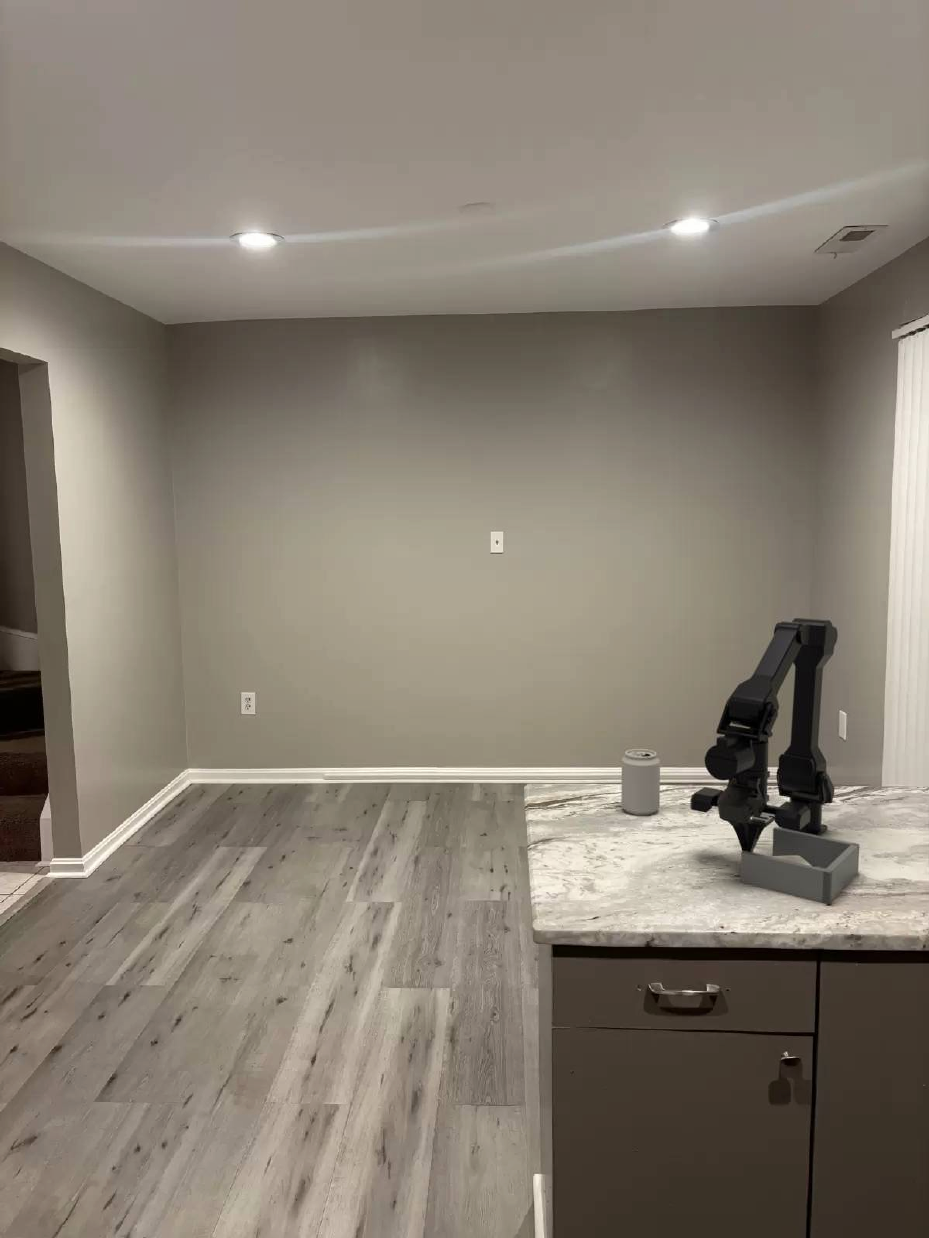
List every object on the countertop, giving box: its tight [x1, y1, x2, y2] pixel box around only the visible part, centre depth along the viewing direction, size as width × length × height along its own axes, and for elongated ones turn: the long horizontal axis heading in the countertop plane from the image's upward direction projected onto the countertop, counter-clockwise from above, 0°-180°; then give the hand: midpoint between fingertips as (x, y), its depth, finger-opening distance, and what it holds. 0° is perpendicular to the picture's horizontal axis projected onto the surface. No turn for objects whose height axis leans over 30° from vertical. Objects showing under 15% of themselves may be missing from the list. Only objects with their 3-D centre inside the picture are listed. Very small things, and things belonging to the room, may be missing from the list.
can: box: [620, 748, 661, 816], centre depth 188 cm, size 8×8×12 cm
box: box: [740, 826, 860, 905], centre depth 154 cm, size 15×14×5 cm
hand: (747, 856), depth 159 cm, fingers closed
